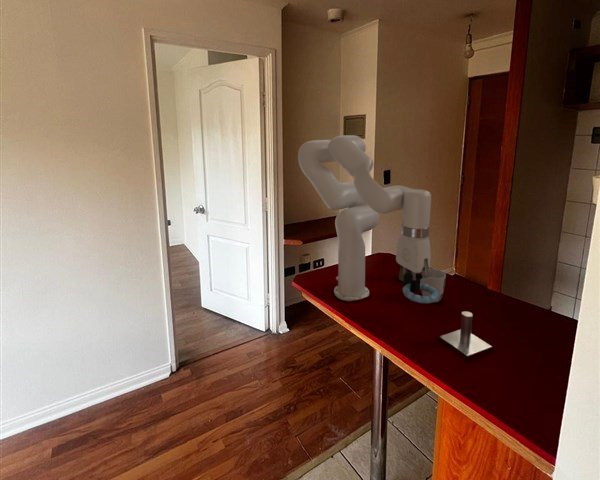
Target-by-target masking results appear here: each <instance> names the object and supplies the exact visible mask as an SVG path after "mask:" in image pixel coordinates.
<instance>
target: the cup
mask: <svg viewBox="0 0 600 480" xmlns="http://www.w3.org/2000/svg"><path fill="white" fill-rule="evenodd" d="M429 274H430V277H426V278H422V279H421V280H420V283H423V284H427V285H430V286H432V287H433V288H435V289H436V290H437V291H438V293H439V295H440V296H439V298H438V300H437V301H436V302H435V303H439V302H440V301H441V300H442V298H443V294H444V290H445V286H446V277H447V274H446V273H445V272H444V271H442V270H440V269H438V268H432V267H430V268H429ZM420 291H421V296H429V295H431V294H430V293H429V292H427V291H423V290H420Z"/></svg>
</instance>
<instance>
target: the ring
mask: <svg viewBox="0 0 600 480" xmlns="http://www.w3.org/2000/svg"><path fill="white" fill-rule="evenodd" d="M410 286H411V283H410V284H406V285H405V286H404V287H403V286H402V290H401V291H402V293H403V295H404V297H406V298H407V299H409V301H412V302H415V303H419V304H432V303H437V302H436V301H437V300H438V298H439V296H440V295H439V293H438V291H437V290H436V289H435V288H433V287H432V286H430V285H427V284H423V283H420V290H419V291H421V290H423V291H427V292H429V293H430V294H431V295H429V296H423V295H419V294H416V293H414V292H411V291H410Z"/></svg>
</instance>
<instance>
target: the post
mask: <svg viewBox="0 0 600 480" xmlns="http://www.w3.org/2000/svg"><path fill="white" fill-rule="evenodd" d="M473 316H474V315H473V313H472V312H470V311H461V315H460V317H461V318H460V319H461V320H460V329H457V330H455V331H451V332H449V333H445V334H442V335H440V336H439V339H441V340H443V341H444V342H446V343H447V344H449V346H451V347H452V348H454V349H456V350H457V351H458V352H460V354H462V355H464V356H465V357H466V358H468V357H471V356H474V355H476V354H479V353H481V352H484V351H487V350H490V349H492V348H493V346H492V345H490V344H489V343H487V342H486V341H484V340H482V339H481V338H479V337H478V336H476V335H475V334H473V333H472V331H473V330H472V329H473Z"/></svg>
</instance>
